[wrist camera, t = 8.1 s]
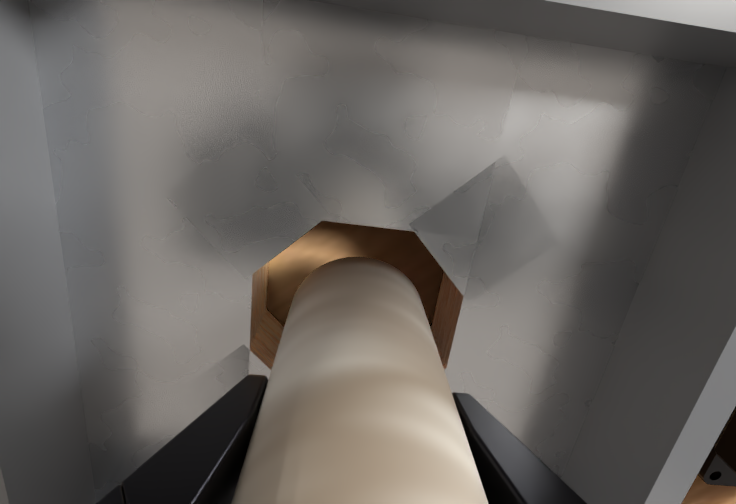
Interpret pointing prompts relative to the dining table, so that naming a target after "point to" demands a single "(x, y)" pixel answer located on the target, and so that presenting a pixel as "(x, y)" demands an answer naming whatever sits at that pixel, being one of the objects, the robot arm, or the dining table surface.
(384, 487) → the peg
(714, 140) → the open box
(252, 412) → the robot arm
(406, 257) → the dining table surface
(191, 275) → the bore plate
